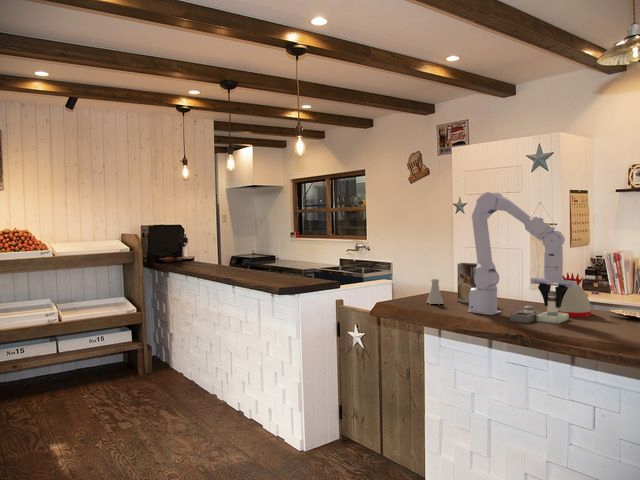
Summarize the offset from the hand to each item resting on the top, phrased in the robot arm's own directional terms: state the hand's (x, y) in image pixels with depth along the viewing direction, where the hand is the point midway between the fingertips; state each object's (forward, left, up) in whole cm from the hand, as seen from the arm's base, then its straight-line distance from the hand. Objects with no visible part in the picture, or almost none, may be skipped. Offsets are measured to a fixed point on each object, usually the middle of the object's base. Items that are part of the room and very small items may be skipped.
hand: (552, 306), depth 169 cm
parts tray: (0, 0, -5) cm, 5 cm away
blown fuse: (0, 0, -3) cm, 3 cm away
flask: (-47, 0, -5) cm, 47 cm away
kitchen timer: (-1, +17, -5) cm, 18 cm away
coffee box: (-39, +14, -5) cm, 41 cm away
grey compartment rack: (-7, -5, -5) cm, 10 cm away
